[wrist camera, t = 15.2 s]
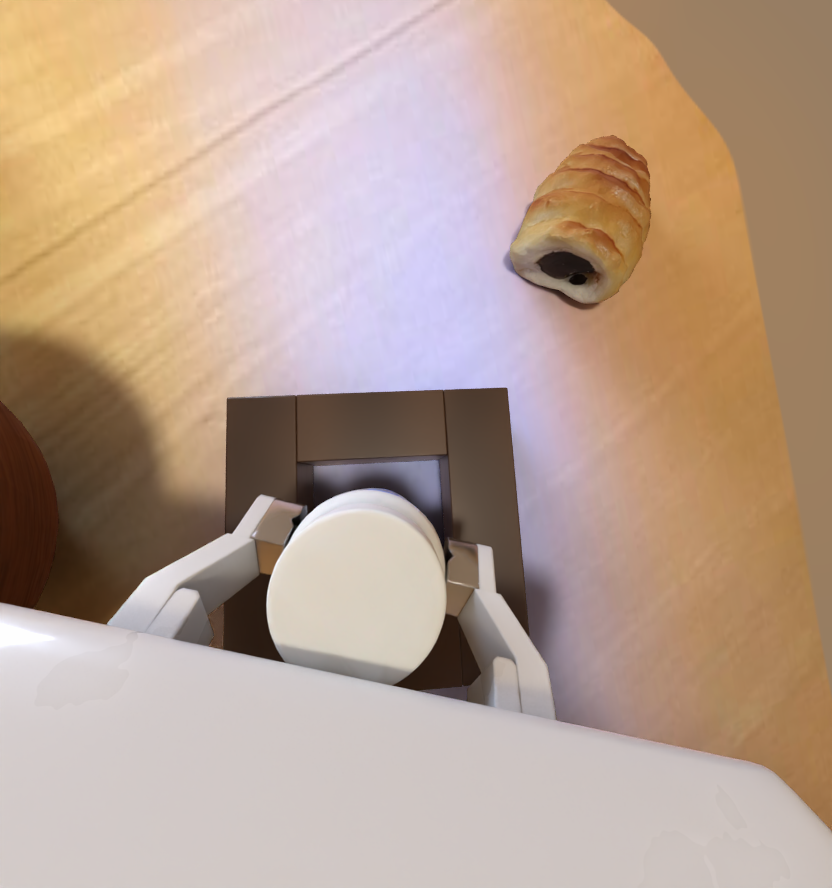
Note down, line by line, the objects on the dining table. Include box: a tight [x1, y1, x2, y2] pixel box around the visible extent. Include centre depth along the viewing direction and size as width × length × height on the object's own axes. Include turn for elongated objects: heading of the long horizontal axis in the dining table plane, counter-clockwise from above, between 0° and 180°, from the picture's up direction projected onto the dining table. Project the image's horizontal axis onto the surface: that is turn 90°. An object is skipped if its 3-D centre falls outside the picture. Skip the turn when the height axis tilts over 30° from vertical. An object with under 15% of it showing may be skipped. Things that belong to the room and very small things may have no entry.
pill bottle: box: [266, 488, 447, 685], centre depth 11 cm, size 5×5×8 cm
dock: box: [223, 388, 529, 691], centre depth 16 cm, size 13×13×3 cm
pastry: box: [510, 135, 651, 304], centre depth 18 cm, size 9×7×4 cm
